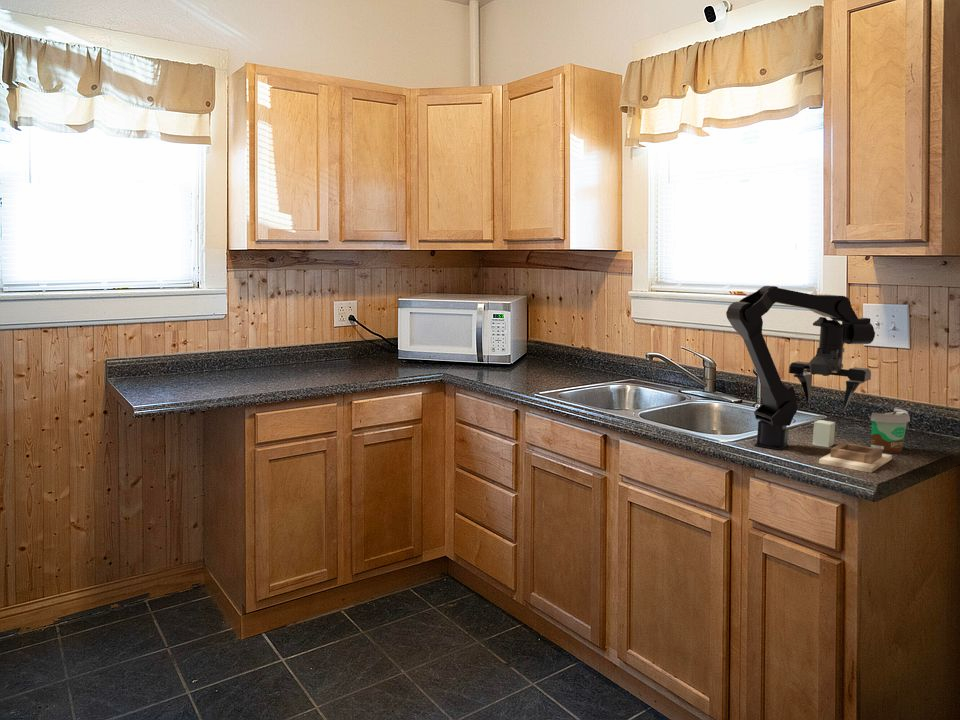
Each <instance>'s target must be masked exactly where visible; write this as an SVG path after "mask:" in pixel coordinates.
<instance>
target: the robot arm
mask: <svg viewBox="0 0 960 720" xmlns="http://www.w3.org/2000/svg"><path fill="white" fill-rule="evenodd" d="M774 304H780V305H781V304H782V305H786V306H792V307H798V308H802V309H807V310H810V311H812V312H813V313H815V314H817V315H820V317H818V319H817V320H815V321H814V322H813V323H812V326H813V327H820V330H819V343H818V347H817V350H816V354H815V355H814V356H813V358H811V360H810V361H799V360H797V361H794V362H791V363H790V364H789V367H788V374H793V377H794V378H797V379H798V380H799V382H800V383H801V384H800V385H801V387H802V390H803V393H804V396H805V401H806V402H807V403H810V401H811V396H812V383H813V375H814V376H815V375H820V376H823V377H829V376H839V377H847V378H848V379H849V380H845V387H846V388H845V392H844V398H843V407H844V408H846V407H848V404H849V403H850V401H851V399H852V397H853V395H854V393H855V391H857V389H858V387H859V386H860V385H861V384H865V382H867V381H871V380H872V379H871V377H872V372H871V370H870V369H869V368H866V367H857V366H855V367H850V368H849V369H847V368H844V364H843V358H844V357H843V356H844V353H845V348H844V343H845V344H846V345H870V344H872V342H873V341H874V339H875V338H876V337H875V336H876V331H875V328H874V326H873V324H872V323H871V318H869V317H859V318H858V316H857V314H856V313H855V310H854V309H853V307H852V304H851V301H850V298H849V297H848V296H845V295H839V294H838V295H835V294H811V293H806V292H801V291H796V290H791V289H786V288H780V287H778V286H777V285H776V286H774V285H764V286H762V287H760V288H759V289H757V290H756V291H754V292H752V293H751V294H748V295H746V296H745V297H743V298H742V299H740V300H738V301H734V302H732V303H730V304H729V306H728V307H727V310H726V312H725V313H726V314H725V315H726V318H727V320H728V323H730V325H731V327H732V328H733V329H734V331H736V332H737V333H738V335H740V337H741V338H742V339H743V342H744V344H745V347H746V349H747V351H748V354H749V356H750V359H751V361H752V364H753V366H754V369H755V371H756V374H757V377H758V379H759V381H760V384H761V386H762V391H761V399H762V403H761V404H760V405H759V406H758V407H757V408H756V409H755V410H754V411H753V413H754V414H753V415H754V417H755V420H757V421H758V422H757V435H756V442H755V443H754V444H753V445H754V446H756V447H761V448H767V449H772V450H782V449H784V448H786V447H788V446H789V444H788V440H789V429H787V426H789V427H790V426H791V424H792V422H793V420H794V416H795V415H796V413H797V412H798V410H799V403H798V402H799V401H800V399H799V398H798V397H797V395H796V391H795V387H793V386H792V385H788V384H784V383H783V381H782V378H781V377H780V374H779V372H778V369H777V368H776V364H775V362H774V360H773V357H772V355H771V352H770V349H769V347H768V345H767V342H766V341H765V340H766V339H765V337H764V335H763V324H764V321H763V316H764V315H765V314H767V313H768V312H769V311H770V309H771V308H772V306H774ZM828 318H830V319H828ZM840 322H841V323H840Z"/></svg>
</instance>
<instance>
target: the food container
mask: <svg viewBox="0 0 960 720" xmlns="http://www.w3.org/2000/svg"><path fill="white" fill-rule="evenodd" d="M869 421H871V427H870V428H871V432H870V433H871V435H870V447H873V448H880V449H882V454H899V453H900V454H901V453H902V451H903V447H904V439H905V435H906V434H905V433H906V429H907V424H908V423H909V422H911V417H910V414H909V411H907V410H905V409H901V408H896V407H894V408H893V411H890V412H888V411H887V412H886V411H884V412H879V413H878V412H871V415H870V420H869Z"/></svg>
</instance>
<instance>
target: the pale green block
mask: <svg viewBox="0 0 960 720" xmlns="http://www.w3.org/2000/svg"><path fill="white" fill-rule="evenodd" d="M835 429H836V422H835V421H829V420H822V419H818V420H815V421H814V422H813V430H812V431H813V432H812V446H819V447H826V448H830V447H832V446H833V445H834V444H835V443H834V442H835Z"/></svg>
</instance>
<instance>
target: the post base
mask: <svg viewBox="0 0 960 720" xmlns="http://www.w3.org/2000/svg"><path fill="white" fill-rule="evenodd" d="M892 459H893V455H892V454H889V453H882V449H880V448H873V447H871V446H867V445H860V444H855V443H848V442H842V443H839V444H838V445H835V446H834V447H832V448H830V452H829V453H828V454H826V455H824V456H822V457H821V458H819V460H818V464H821V465H822V464H823V465H826V466H827V465H828V466H834V467H839V468H843V469H844V468H845V469H848V470H849V469H850V470H856V471H861V472H866V473H871V474H872V473H873V472H875V471H876V470H877V469H879V468H880V467H883V465H885V464H887V463H888V462H889V461H891V460H892Z"/></svg>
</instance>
